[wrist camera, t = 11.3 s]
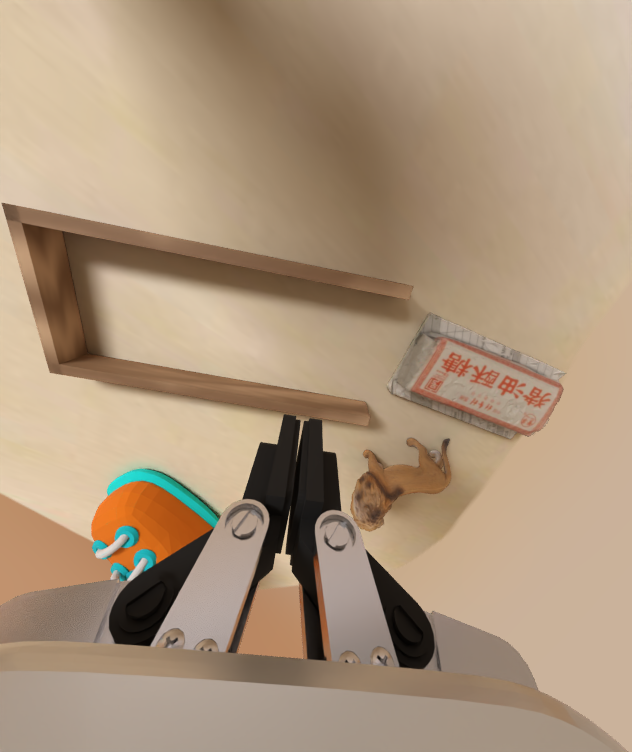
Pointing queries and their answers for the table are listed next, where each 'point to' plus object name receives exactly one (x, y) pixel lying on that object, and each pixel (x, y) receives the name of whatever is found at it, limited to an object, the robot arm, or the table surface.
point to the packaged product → (476, 380)
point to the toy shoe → (146, 522)
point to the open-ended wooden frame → (70, 357)
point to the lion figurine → (396, 484)
